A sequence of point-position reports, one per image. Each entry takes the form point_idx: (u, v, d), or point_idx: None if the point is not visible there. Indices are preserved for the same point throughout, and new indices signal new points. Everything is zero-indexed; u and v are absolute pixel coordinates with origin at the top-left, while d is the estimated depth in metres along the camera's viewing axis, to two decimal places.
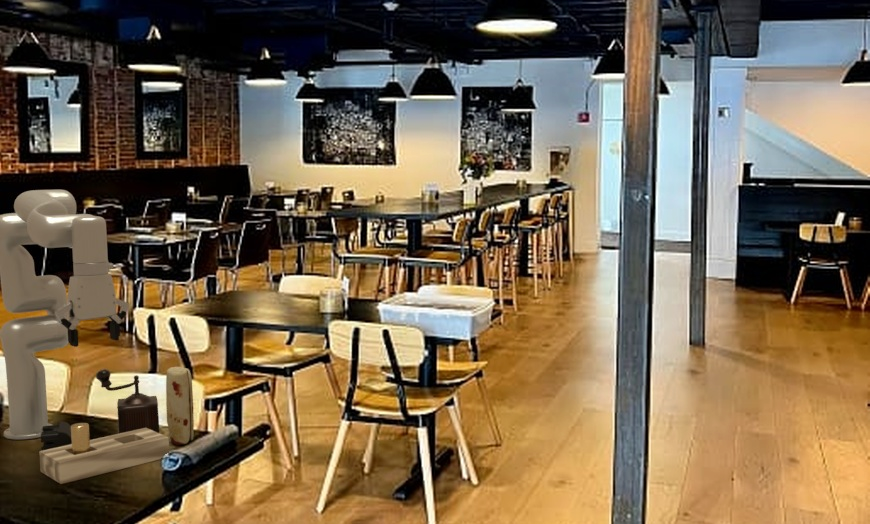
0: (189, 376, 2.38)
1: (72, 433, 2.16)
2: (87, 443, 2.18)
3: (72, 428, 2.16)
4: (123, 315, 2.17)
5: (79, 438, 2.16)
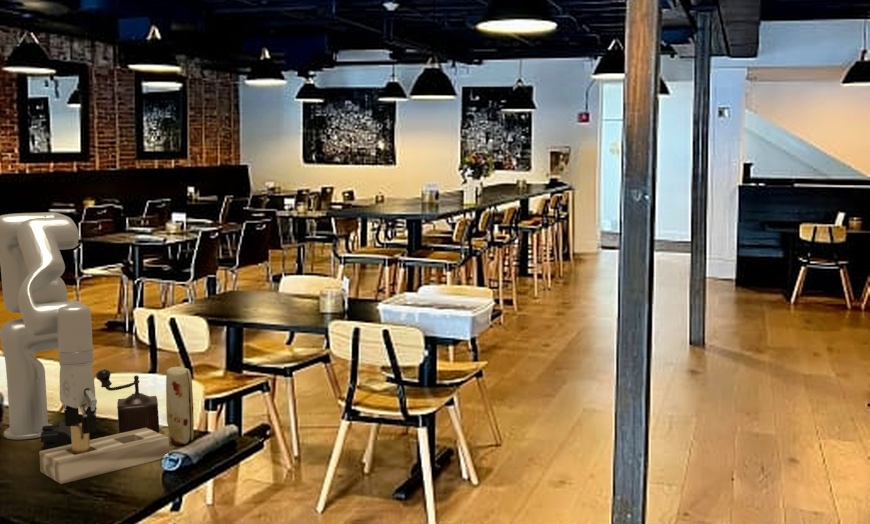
0: (189, 376, 2.38)
1: (72, 433, 2.16)
2: (87, 443, 2.18)
3: (72, 428, 2.16)
4: None
5: (79, 438, 2.16)
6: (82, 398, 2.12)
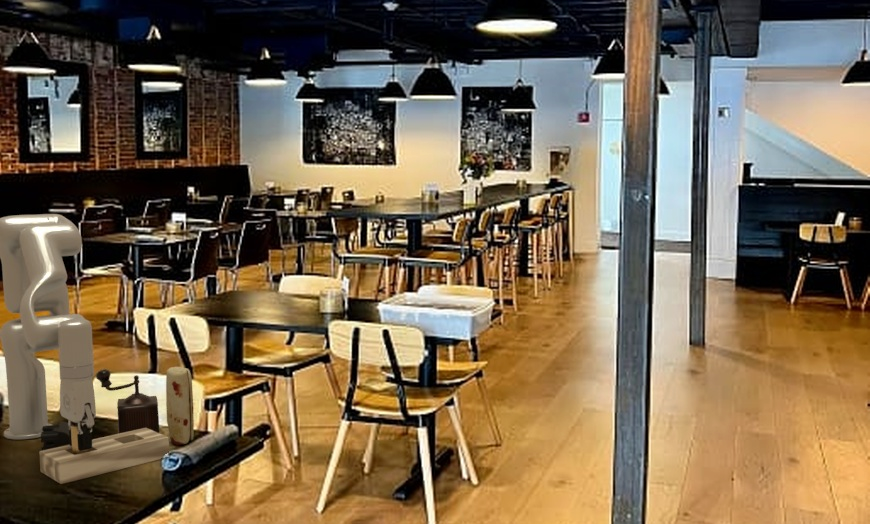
0: (189, 376, 2.38)
1: (72, 433, 2.16)
2: None
3: (72, 428, 2.16)
4: None
5: None
6: (82, 413, 2.13)
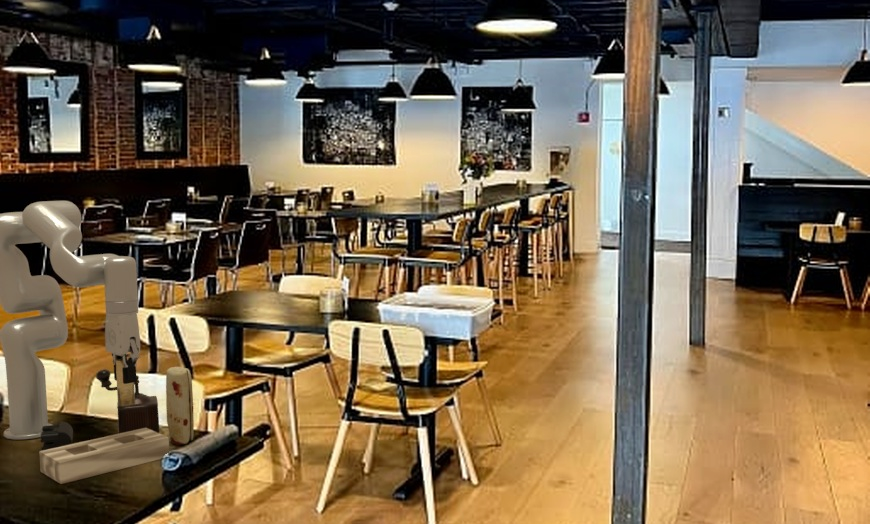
0: (189, 376, 2.38)
1: (117, 367, 2.23)
2: None
3: (117, 362, 2.23)
4: None
5: None
6: (128, 346, 2.20)
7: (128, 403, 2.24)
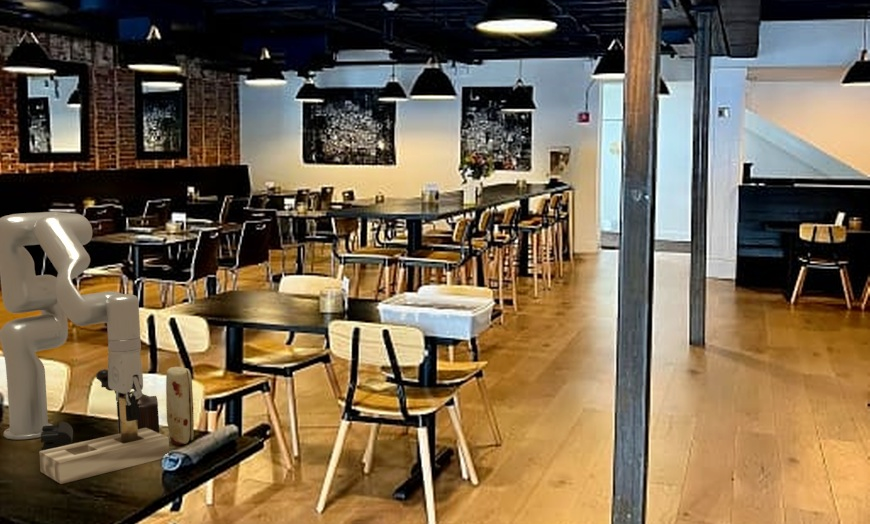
0: (189, 376, 2.38)
1: (121, 404, 2.24)
2: None
3: (120, 399, 2.24)
4: None
5: None
6: (131, 384, 2.21)
7: (131, 440, 2.25)
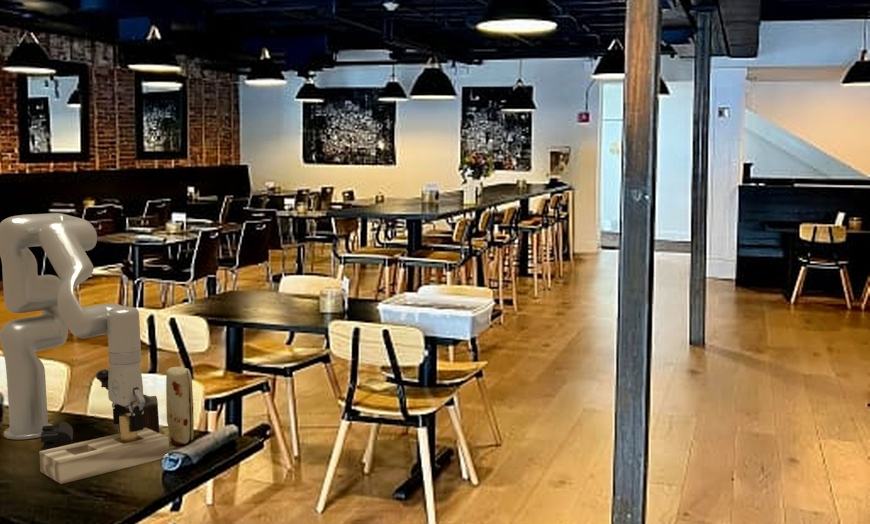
0: (189, 376, 2.38)
1: (121, 422, 2.25)
2: (135, 432, 2.26)
3: (121, 418, 2.25)
4: None
5: (128, 428, 2.25)
6: (131, 397, 2.21)
7: None
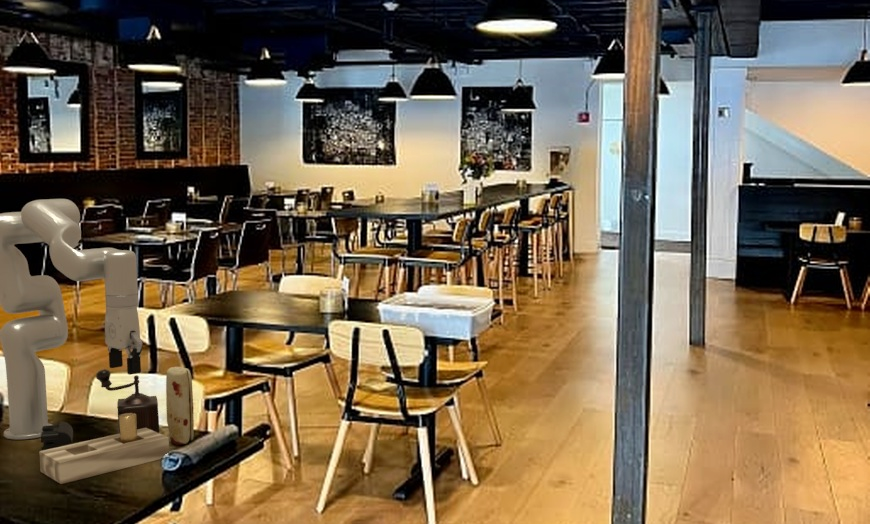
0: (189, 376, 2.38)
1: (121, 422, 2.25)
2: (135, 432, 2.26)
3: (120, 418, 2.25)
4: None
5: (128, 428, 2.25)
6: (128, 340, 2.20)
7: None
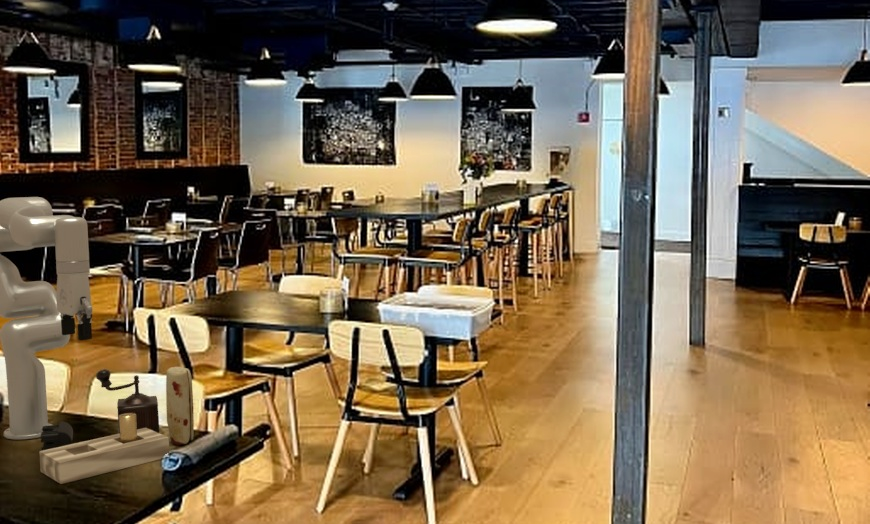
0: (189, 376, 2.38)
1: (121, 422, 2.25)
2: (135, 432, 2.26)
3: (120, 418, 2.25)
4: None
5: (128, 428, 2.25)
6: (78, 306, 2.21)
7: None
